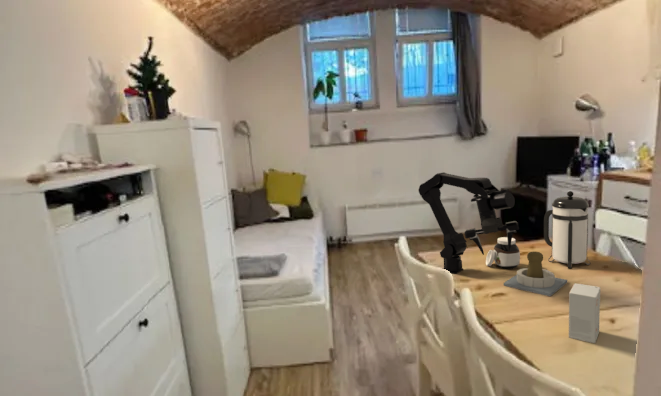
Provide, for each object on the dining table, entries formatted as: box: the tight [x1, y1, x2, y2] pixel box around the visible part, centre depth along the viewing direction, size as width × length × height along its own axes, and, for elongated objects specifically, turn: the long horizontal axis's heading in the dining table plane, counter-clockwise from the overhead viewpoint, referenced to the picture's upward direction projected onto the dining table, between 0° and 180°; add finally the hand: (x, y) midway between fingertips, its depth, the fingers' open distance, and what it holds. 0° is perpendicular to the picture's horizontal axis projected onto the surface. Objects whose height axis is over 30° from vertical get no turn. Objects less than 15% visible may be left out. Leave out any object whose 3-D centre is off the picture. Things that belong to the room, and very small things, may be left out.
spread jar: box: [485, 236, 521, 270], centre depth 166 cm, size 12×11×12 cm
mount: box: [503, 267, 568, 297], centre depth 146 cm, size 16×16×4 cm
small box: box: [568, 283, 601, 344], centre depth 109 cm, size 8×6×13 cm
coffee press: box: [543, 190, 591, 270], centre depth 163 cm, size 17×16×30 cm
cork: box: [526, 251, 544, 278], centre depth 145 cm, size 6×6×11 cm
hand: (496, 252), depth 148 cm, fingers open, 9 cm apart
